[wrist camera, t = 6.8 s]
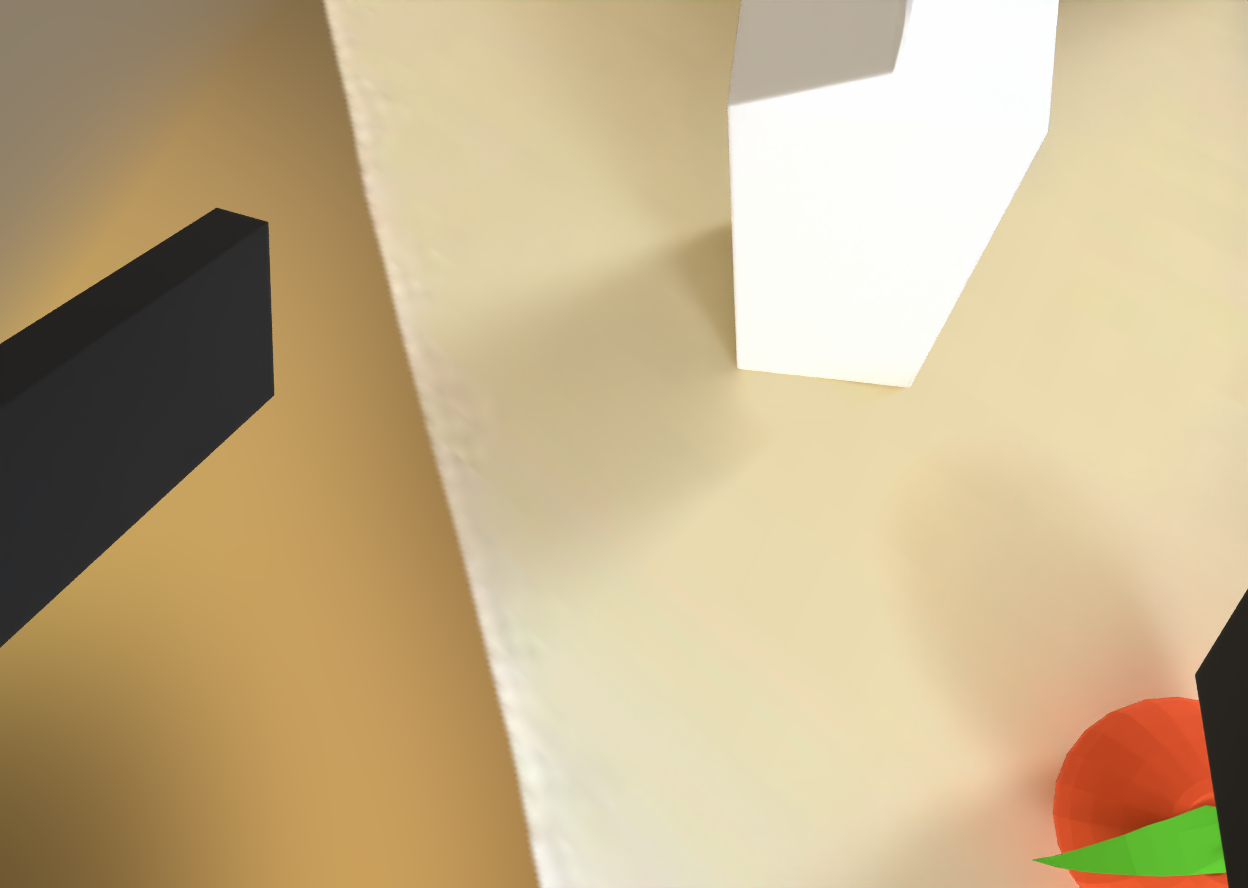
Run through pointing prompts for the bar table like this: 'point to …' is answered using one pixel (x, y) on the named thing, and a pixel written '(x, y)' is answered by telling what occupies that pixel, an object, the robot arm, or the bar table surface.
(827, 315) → the milk
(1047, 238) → the bar table surface
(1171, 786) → the clementine
